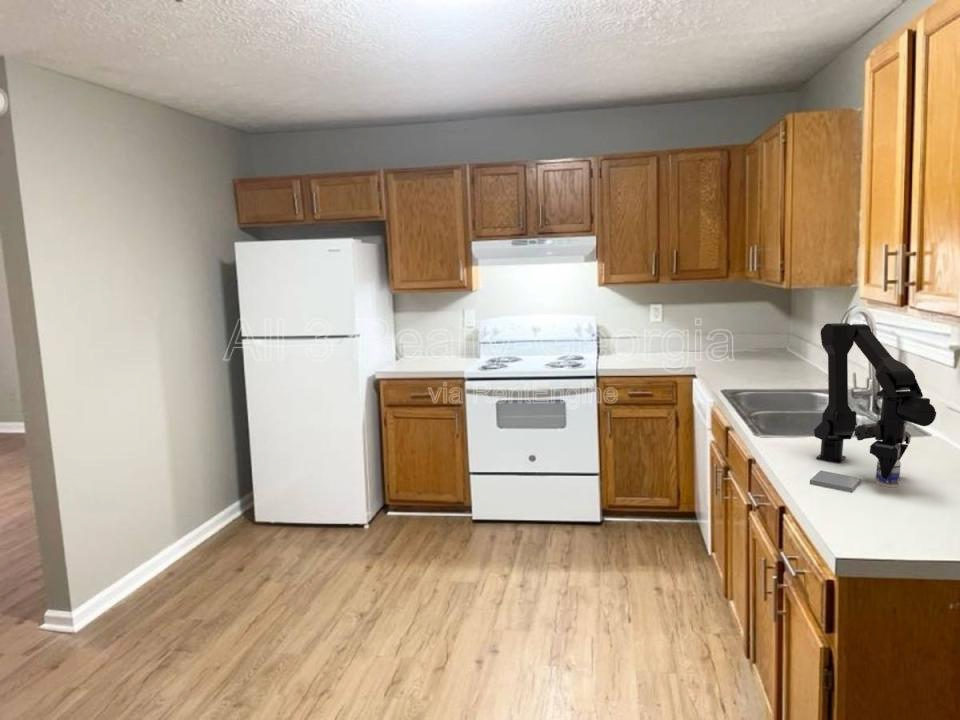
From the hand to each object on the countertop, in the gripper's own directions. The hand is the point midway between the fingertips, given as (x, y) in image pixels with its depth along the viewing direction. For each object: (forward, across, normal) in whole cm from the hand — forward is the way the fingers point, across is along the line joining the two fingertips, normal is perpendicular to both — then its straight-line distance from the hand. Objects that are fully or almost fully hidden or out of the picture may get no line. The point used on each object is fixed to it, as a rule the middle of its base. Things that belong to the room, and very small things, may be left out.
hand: (887, 474), depth 185 cm
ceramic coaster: (+2, +8, -10) cm, 13 cm away
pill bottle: (+3, 0, 0) cm, 3 cm away
